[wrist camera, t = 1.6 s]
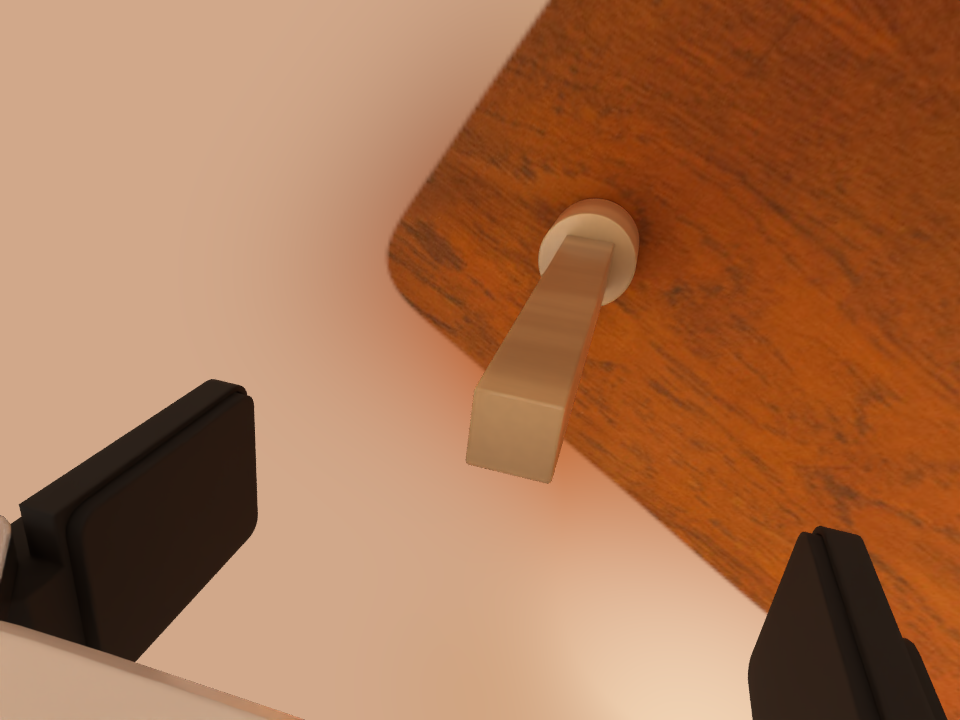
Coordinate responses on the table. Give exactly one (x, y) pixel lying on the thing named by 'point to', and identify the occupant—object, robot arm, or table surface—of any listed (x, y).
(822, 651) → the robot arm
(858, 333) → the table surface
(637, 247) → the stirrer
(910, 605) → the table surface
